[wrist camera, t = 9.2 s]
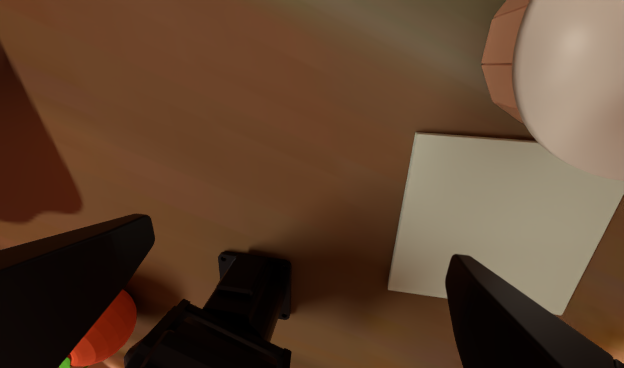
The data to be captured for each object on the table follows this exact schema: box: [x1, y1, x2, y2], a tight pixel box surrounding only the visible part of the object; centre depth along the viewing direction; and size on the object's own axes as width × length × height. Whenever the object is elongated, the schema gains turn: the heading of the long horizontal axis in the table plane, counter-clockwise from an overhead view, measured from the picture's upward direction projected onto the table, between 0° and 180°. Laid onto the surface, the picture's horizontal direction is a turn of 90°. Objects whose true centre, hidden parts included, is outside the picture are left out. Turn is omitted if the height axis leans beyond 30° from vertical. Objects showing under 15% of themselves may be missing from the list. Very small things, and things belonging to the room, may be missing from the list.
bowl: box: [481, 0, 530, 124], centre depth 13 cm, size 9×9×6 cm
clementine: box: [59, 289, 137, 368], centre depth 27 cm, size 8×7×7 cm
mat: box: [388, 132, 624, 315], centre depth 21 cm, size 13×13×1 cm
